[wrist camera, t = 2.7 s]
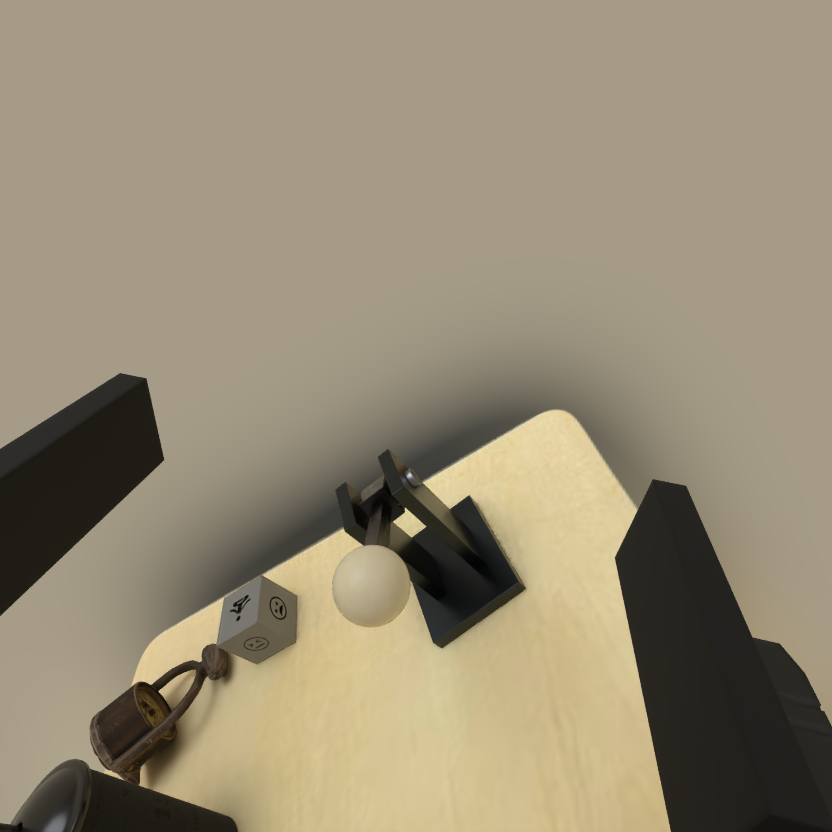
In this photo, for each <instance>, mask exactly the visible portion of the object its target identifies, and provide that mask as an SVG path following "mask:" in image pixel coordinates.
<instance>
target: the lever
mask: <svg viewBox="0 0 832 832" xmlns="http://www.w3.org/2000/svg"><path fill="white" fill-rule="evenodd" d="M358 506H359V507H360V508H361V509H362V511H363V512H364V513H365V514H366V515H367V516H368V517H369V522H368V528H367V533H366V539H365V544H364V546H362V547H359V548H357V549H354V550H353V551H351V552H350V553H348V554H347V555H346V556H345V557H344V558H343V559H342V561H341V562H340V563H339V565H338V567H337V569H336V571H335V574H334V577H333V583H332V591H333V597H334V601H335V604H336V606H337V608H338V609H339V611H340V612H341V614H342V615H343V616H344V617H345V618H346V619H347V620H349V621H350V622H352V623H354V624H356V625H359V626H362V627H378V626H382V625H385V624H387V623H389V622H391V621H392V620H393V619H395V618H396V617H397V616H398V615H399V614H400V613H401V611H402V610H403V609H404V607H405V605H406V603H407V601H408V598H409V594H410V585H411V584H410V576H409V572H408V569H407V567H406V565H405V563H404V562H403V560H402V559H401V558H400V557H399V556H398V555H397V554H396V553H395V552H394V551H392V550H390V549H389V543H390V529H391V522H393V521H394V520H395V519H397V518H398V517H399V516H401V515H402V514H403V513H404V512H405V507H404V506H403V505H402V504H401V503H400V502H399V501H398V500H397V499H395V498H394V497H393V496H392V494H391V491H390V489H389V486H388V483H387V481H386V478H385V475H383V476H381V477H380V478H379V479H377V480H376V481H375V482H373V483H372V484H371V485H369V486H368V487H367V488H366V489H364V490H363V491H362V493H361V497H360V501H359V505H358Z"/></svg>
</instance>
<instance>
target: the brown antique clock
mask: <svg viewBox="0 0 832 832" xmlns="http://www.w3.org/2000/svg"><path fill="white" fill-rule="evenodd" d="M216 645H217V644H210V645H207V646H206V647H205V648H204V649H203V651H202V661H201V662H200V663H199V662H197V661H194V660H192V661H188V662H185V663H182V664H180V665H178V666H176V667H175V668H173V669H171V670H170V671H168V672H167V673H166V674H164V675H163V676H162V677H161V678H159V679H158V680H157V681H156V682H154V683H153V684H152V685H150V684H148V683H146V682H137V683H136V684H135V685H133V686H132V687H131V688H130V689H128V690H127V691H126V692H125V693H123V694H122V695H121V696H119V697H118V698H117V699H116V700H114V701H113V702H112V703H110V704H109V705H108V706H107V707H105V708H104V709H103V710H102V711H100V712H98V713H97V714H96V715H95V716H94V717H93V718H92V721H91V723H90V740H91V744H92V747H93V750H94V753H95V754H96V755H97V756H98V758H99V760H100V762H101V763H102V765H103V766H104V767H105V768H106V769H108V770H111V771H112V772H114V773H117V774H118V775H119V776H121V777H122V778H123V779H124V780H125V781H127V782H130V783H133V784H136V785H139V784H140V769H141V766H142V765H143V764H144V763H145V762H146V761H147V760H148V759H150V758H151V757H152V756H153V755H154V754H156V753H157V752H158V751H159V750H160V749H162V748H163V747H164V746H165V745H166V744H167V743H169V742H170V741H171V740H172V739H173V738H174V737H175V735H176V724H175V723H176V721H177V720H178V719H179V718H180V717H181V716H182V715H183V714H184V713H185V711H186V710H187V709H188V708H189V706H190V705H191V703H192V702H193V701H194V699H195V698H196V696H197V695H198V693H199V691H200V689H201V687H202V685H203V682H204V680H205V678H206V677H207V676H209V678H210V679H212V680H218V679H219V678H220V677H221V676H223V675H224V673H225V671H226V668H227V654H226V652H225V650H223V649H221V648H218V647H216ZM194 669H195V670H196V677H195V679H194V682H193V684H192V686H191V688H190V689H189V691H188V693H187V694H186V695H185V697H184V698H183V699H182V701H181V702H180V703H179V704H178V705H177V706H176V708H175V709H174V710H173V711H171V709H170V707H169V705H168V703H167V702H166V700H165V699H164V697H163V696H162V695H161V694H160V693H159V692H158V691H159V690H160V689H161V688H163V687H164V686H165V685H166V684H167V683H169V682H170V681H171V680H172V679H174V678H175V677H176V676H178V675H180V674H182V673H184V672H187V671H190V670H194Z"/></svg>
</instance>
